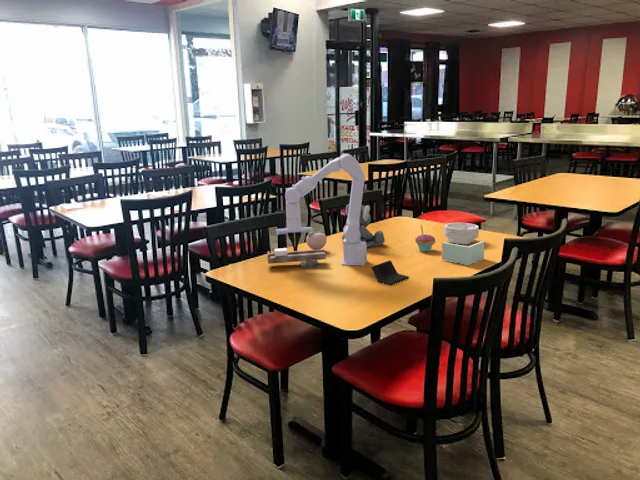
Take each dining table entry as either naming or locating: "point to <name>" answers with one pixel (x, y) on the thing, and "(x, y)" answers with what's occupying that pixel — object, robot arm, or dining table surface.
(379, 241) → the koala plush
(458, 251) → the pale blue squat box
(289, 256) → the beam
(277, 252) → the block
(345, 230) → the robot arm
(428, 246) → the cupcake
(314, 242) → the decorative fruit
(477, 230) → the paper bowls
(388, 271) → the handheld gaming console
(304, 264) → the fulcrum stand
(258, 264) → the dining table surface
